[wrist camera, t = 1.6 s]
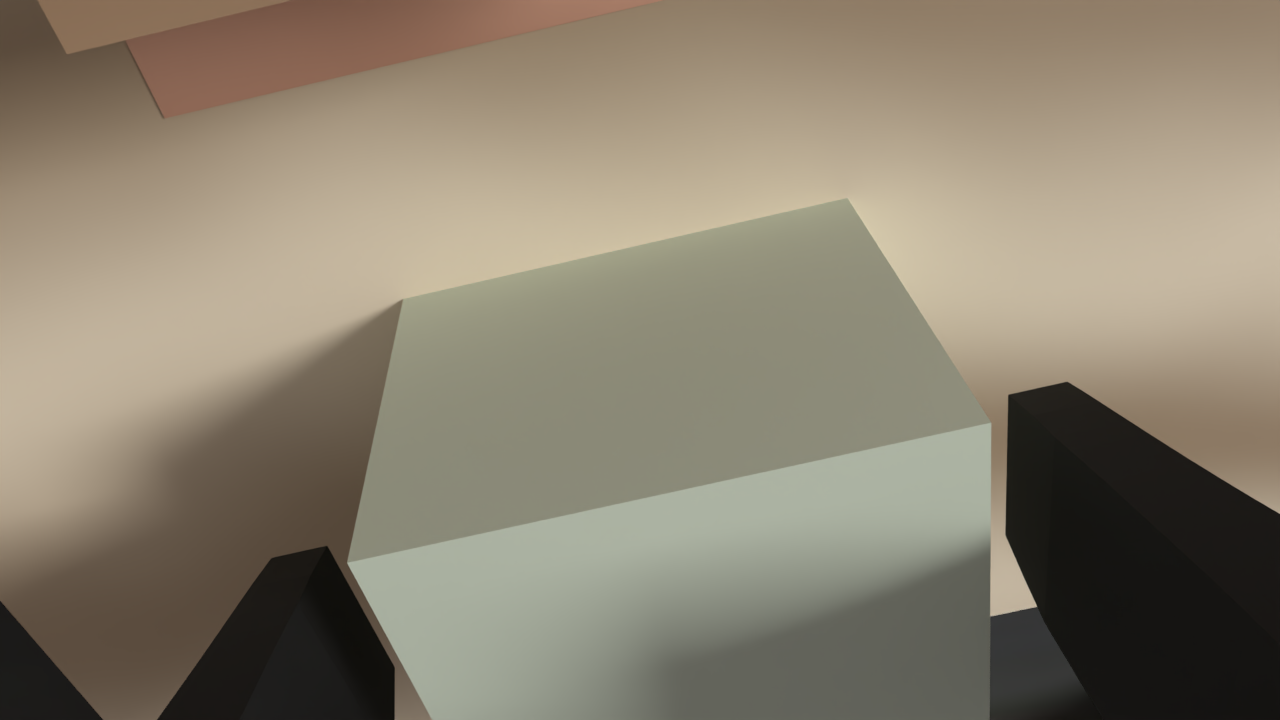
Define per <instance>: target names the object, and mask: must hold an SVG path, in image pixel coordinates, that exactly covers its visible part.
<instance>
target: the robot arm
mask: <svg viewBox="0 0 1280 720" xmlns="http://www.w3.org/2000/svg"><path fill="white" fill-rule="evenodd" d="M1005 536H1006V538H1007V540H1008V542H1009V545H1010V547H1011V549H1012V552H1013V554H1014V556H1015V558H1016V561H1017V563H1018V565H1019V568H1020V570H1021V572H1022V574H1023V577H1024V579H1025V581H1026V583H1027V586H1028V588H1029V590H1030V592H1031V594H1032V596H1033V599H1034V601H1035V603H1036V605H1037V607H1038V609H1039V611H1040V614H1041V616H1042V618H1043V620H1044V622H1045V624H1046V625H1047V627H1048V629H1049V631H1050V632H1051V634H1052V636H1053V637H1054V639H1055V641H1056V642H1057V644H1058V646H1059V647H1060V649H1061V651H1062V652H1063V654H1064V656H1065V657H1066V659H1067V661H1068V662H1069V664H1070V666H1071V667H1072V669H1073V671H1074V672H1075V674H1076V676H1077V677H1078V679H1079V681H1080V682H1081V684H1082V686H1083V687H1084V689H1085V691H1086V692H1087V694H1088V696H1089V697H1090V699H1091V700H1092V702H1093V704H1094V705H1095V707H1096V709H1097V710H1098V712H1099V714H1100V715H1101V717H1102V718H1103V720H1280V514H1279V513H1278V512H1276V511H1274V510H1272V509H1271V508H1269V507H1267V506H1266V505H1264V504H1262V503H1261V502H1259V501H1257V500H1255V499H1254V498H1252V497H1250V496H1249V495H1247V494H1245V493H1244V492H1242V491H1240V490H1239V489H1237V488H1235V487H1234V486H1232V485H1230V484H1229V483H1227V482H1226V481H1224V480H1222V479H1221V478H1219V477H1217V476H1216V475H1214V474H1212V473H1211V472H1209V471H1208V470H1206V469H1204V468H1203V467H1201V466H1200V465H1198V464H1196V463H1195V462H1193V461H1191V460H1190V459H1188V458H1187V457H1185V456H1183V455H1182V454H1180V453H1179V452H1177V451H1176V450H1174V449H1172V448H1171V447H1169V446H1168V445H1166V444H1165V443H1163V442H1161V441H1160V440H1158V439H1157V438H1155V437H1154V436H1152V435H1150V434H1149V433H1147V432H1146V431H1144V430H1143V429H1141V428H1140V427H1138V426H1136V425H1135V424H1133V423H1132V422H1130V421H1129V420H1127V419H1126V418H1124V417H1122V416H1121V415H1119V414H1118V413H1116V412H1115V411H1113V410H1112V409H1110V408H1109V407H1107V406H1105V405H1104V404H1102V403H1101V402H1099V401H1098V400H1096V399H1095V398H1093V397H1091V396H1090V395H1088V394H1087V393H1085V392H1084V391H1082V390H1080V389H1079V388H1077V387H1076V386H1074V385H1072V384H1071V383H1069V382H1063V383H1059V384H1054V385H1050V386H1045V387H1041V388H1036V389H1032V390H1027V391H1023V392H1018V393H1014V394H1009V395H1008V428H1007V477H1006V526H1005ZM157 720H395V667H394V665H393V663H392V661H391V660H390V658H389V656H388V654H387V652H386V651H385V649H384V647H383V645H382V643H381V642H380V640H379V638H378V636H377V634H376V633H375V631H374V629H373V627H372V625H371V624H370V622H369V620H368V618H367V616H366V615H365V613H364V611H363V609H362V607H361V606H360V604H359V602H358V600H357V598H356V597H355V595H354V593H353V591H352V589H351V588H350V586H349V584H348V582H347V580H346V578H345V577H344V575H343V573H342V571H341V569H340V568H339V566H338V564H337V562H336V560H335V559H334V557H333V555H332V553H331V551H330V550H329V548H328V546H323V547H318V548H314V549H309V550H305V551H300V552H296V553H291V554H287V555H282V556H278V557H273V558H271V559H270V561H269V562H268V563H267V565H266V566H265V567H264V569H263V570H262V571H261V573H260V574H259V575H258V577H257V578H256V580H255V581H254V582H253V584H252V585H251V587H250V588H249V589H248V591H247V592H246V594H245V595H244V597H243V598H242V599H241V601H240V602H239V604H238V605H237V607H236V608H235V609H234V611H233V612H232V614H231V615H230V617H229V618H228V620H227V621H226V622H225V624H224V625H223V627H222V628H221V630H220V631H219V633H218V634H217V635H216V637H215V638H214V640H213V641H212V643H211V644H210V646H209V647H208V648H207V650H206V651H205V653H204V654H203V656H202V657H201V659H200V660H199V661H198V663H197V664H196V666H195V667H194V668H193V670H192V671H191V673H190V674H189V675H188V677H187V678H186V680H185V681H184V682H183V684H182V685H181V687H180V688H179V689H178V691H177V692H176V694H175V695H174V696H173V698H172V699H171V701H170V702H169V703H168V705H167V706H166V708H165V709H164V710H163V712H162V713H161V715H160V716H159V717H158V719H157Z"/></svg>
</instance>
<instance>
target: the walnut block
mask: <svg viewBox="0 0 1280 720" xmlns="http://www.w3.org/2000/svg"><path fill="white" fill-rule="evenodd" d="M287 1H291V0H38V2H39V4H40V6H41V8H42V10H43V11H44V13H45V15H46V17H47V19H48V21H49V22H50V24H51V26H52V28H53V30H54V32H55V33H56V35H57V37H58V39H59V41H60V43H61V44H62V46H63V48H64V50H65V52H66V54H71V53H75V52H79V51H83V50H87V49H91V48H96V47H100V46H104V45H108V44H112V43H116V42H120V41H125V40H129V39H133V38H137V37H141V36H145V35H150V34H154V33H158V32H162V31H166V30H170V29H175V28H179V27H183V26H187V25H191V24H195V23H199V22H204V21H208V20H212V19H216V18H220V17H224V16H229V15H233V14H237V13H241V12H245V11H249V10H254V9H258V8H262V7H266V6H270V5H274V4H279V3H283V2H287Z"/></svg>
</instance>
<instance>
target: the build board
mask: <svg viewBox="0 0 1280 720" xmlns="http://www.w3.org/2000/svg"><path fill="white" fill-rule="evenodd" d="M845 198H848V200H849V201H850V203H851V204H852V206H853V208H854V209H855V211H856V212H857V214H858V215H859V217H860V218H861V220H862V222H863V223H864V225H865V226H866V228H867V229H868V231H869V233H870V234H871V236H872V237H873V239H874V240H875V242H876V243H877V245H878V247H879V248H880V250H881V251H882V253H883V254H884V256H885V257H886V259H887V261H888V262H889V264H890V265H891V267H892V268H893V270H894V272H895V273H896V275H897V276H898V278H899V279H900V281H901V282H902V284H903V286H904V287H905V289H906V290H907V292H908V293H909V295H910V297H911V298H912V300H913V301H914V303H915V304H916V306H917V307H918V309H919V311H920V312H921V314H922V315H923V317H924V318H925V320H926V321H927V323H928V325H929V326H930V328H931V329H932V331H933V332H934V334H935V336H936V337H937V339H938V340H939V342H940V343H941V345H942V346H943V348H944V350H945V351H946V353H947V354H948V356H949V357H950V359H951V361H952V362H953V364H954V365H955V367H956V368H957V370H958V371H959V373H960V375H961V376H962V378H963V379H964V381H965V382H966V384H967V386H968V387H969V389H970V390H971V392H972V393H973V395H974V396H975V398H976V400H977V401H978V403H979V404H980V406H981V407H982V409H983V410H984V412H985V414H986V415H987V417H988V418H989V420H990V421H991V567H990V616H995V615H1000V614H1005V613H1009V612H1014V611H1019V610H1024V609H1028V608H1033V607H1037V605H1036V603H1035V601H1034V599H1033V596H1032V594H1031V592H1030V590H1029V588H1028V586H1027V583H1026V581H1025V579H1024V577H1023V574H1022V572H1021V570H1020V568H1019V565H1018V563H1017V561H1016V558H1015V556H1014V554H1013V552H1012V549H1011V547H1010V545H1009V542H1008V540H1007V538H1006V536H1005V526H1006V477H1007V428H1008V395H1009V394H1014V393H1018V392H1023V391H1027V390H1032V389H1036V388H1041V387H1045V386H1050V385H1054V384H1059V383H1063V382H1069V383H1071V384H1072V385H1074V386H1076V387H1077V388H1079V389H1080V390H1082V391H1084V392H1085V393H1087V394H1088V395H1090V396H1091V397H1093V398H1095V399H1096V400H1098V401H1099V402H1101V403H1102V404H1104V405H1105V406H1107V407H1109V408H1110V409H1112V410H1113V411H1115V412H1116V413H1118V414H1119V415H1121V416H1122V417H1124V418H1126V419H1127V420H1129V421H1130V422H1132V423H1133V424H1135V425H1136V426H1138V427H1140V428H1141V429H1143V430H1144V431H1146V432H1147V433H1149V434H1150V435H1152V436H1154V437H1155V438H1157V439H1158V440H1160V441H1161V442H1163V443H1165V444H1166V445H1168V446H1169V447H1171V448H1172V449H1174V450H1176V451H1177V452H1179V453H1180V454H1182V455H1183V456H1185V457H1187V458H1188V459H1190V460H1191V461H1193V462H1195V463H1196V464H1198V465H1200V466H1201V467H1203V468H1204V469H1206V470H1208V471H1209V472H1211V473H1212V474H1214V475H1216V476H1217V477H1219V478H1221V479H1222V480H1224V481H1226V482H1227V483H1229V484H1230V485H1232V486H1234V487H1235V488H1237V489H1239V490H1240V491H1242V492H1244V493H1245V494H1247V495H1249V496H1250V497H1252V498H1254V499H1255V500H1257V501H1259V502H1261V503H1262V504H1264V505H1266V506H1267V507H1269V508H1271V509H1272V510H1274V511H1276V512H1278V513H1279V514H1280V0H291V1H287V2H283V3H279V4H274V5H270V6H266V7H262V8H258V9H254V10H249V11H245V12H241V13H237V14H233V15H229V16H224V17H220V18H216V19H212V20H208V21H204V22H199V23H195V24H191V25H187V26H183V27H179V28H175V29H170V30H166V31H162V32H158V33H154V34H150V35H145V36H141V37H137V38H133V39H129V40H125V41H120V42H116V43H112V44H108V45H104V46H100V47H96V48H91V49H87V50H83V51H79V52H75V53H71V54H66V52H65V50H64V48H63V46H62V44H61V43H60V41H59V39H58V37H57V35H56V33H55V32H54V30H53V28H52V26H51V24H50V22H49V21H48V19H47V17H46V15H45V13H44V11H43V10H42V8H41V6H40V4H39V2H38V0H0V601H1V602H2V603H3V605H4V606H5V607H6V608H7V609H8V610H9V611H10V613H11V614H12V615H13V616H14V617H15V618H16V620H17V621H18V622H19V623H20V624H21V625H22V626H23V628H24V629H25V630H26V631H27V632H28V633H29V635H30V636H31V637H32V638H33V639H34V640H35V641H36V643H37V644H38V645H39V646H40V647H41V648H42V650H43V651H44V652H45V653H46V654H47V655H48V656H49V658H50V659H51V660H52V661H53V662H54V663H55V665H56V666H57V667H58V668H59V669H60V670H61V672H62V673H63V674H64V675H65V676H66V677H67V678H68V680H69V681H70V682H71V683H72V684H73V685H74V687H75V688H76V689H77V690H78V691H79V692H80V693H81V695H82V696H83V697H84V698H85V699H86V700H87V702H88V703H89V704H90V705H91V706H92V707H93V708H94V710H95V711H96V712H97V713H98V714H99V715H100V717H101V718H102V719H103V720H157V719H158V717H159V716H160V715H161V713H162V712H163V710H164V709H165V708H166V706H167V705H168V703H169V702H170V701H171V699H172V698H173V696H174V695H175V694H176V692H177V691H178V689H179V688H180V687H181V685H182V684H183V682H184V681H185V680H186V678H187V677H188V675H189V674H190V673H191V671H192V670H193V668H194V667H195V666H196V664H197V663H198V661H199V660H200V659H201V657H202V656H203V654H204V653H205V651H206V650H207V648H208V647H209V646H210V644H211V643H212V641H213V640H214V638H215V637H216V635H217V634H218V633H219V631H220V630H221V628H222V627H223V625H224V624H225V622H226V621H227V620H228V618H229V617H230V615H231V614H232V612H233V611H234V609H235V608H236V607H237V605H238V604H239V602H240V601H241V599H242V598H243V597H244V595H245V594H246V592H247V591H248V589H249V588H250V587H251V585H252V584H253V582H254V581H255V580H256V578H257V577H258V575H259V574H260V573H261V571H262V570H263V569H264V567H265V566H266V565H267V563H268V562H269V561H270V559H271V558H273V557H278V556H282V555H287V554H291V553H296V552H300V551H305V550H309V549H314V548H318V547H323V546H328V548H329V550H330V551H331V553H332V555H333V557H334V559H335V560H336V562H337V564H338V566H339V568H340V569H341V571H342V573H343V575H344V577H345V578H346V580H347V582H348V584H349V586H350V588H351V589H352V591H353V593H354V595H355V597H356V598H357V600H358V602H359V604H360V606H361V607H362V609H363V611H364V613H365V615H366V616H367V618H368V620H369V622H370V624H371V625H372V627H373V629H374V631H375V633H376V634H377V636H378V638H379V640H380V642H381V643H382V645H383V647H384V649H385V651H386V652H387V654H388V656H389V658H390V660H391V661H392V663H393V665H394V667H395V720H432V719H431V717H430V715H429V713H428V711H427V709H426V708H425V706H424V704H423V702H422V700H421V698H420V696H419V695H418V693H417V691H416V689H415V687H414V685H413V684H412V682H411V680H410V678H409V676H408V674H407V673H406V671H405V669H404V667H403V665H402V663H401V661H400V660H399V658H398V656H397V654H396V652H395V650H394V649H393V647H392V645H391V643H390V641H389V639H388V637H387V636H386V634H385V632H384V630H383V628H382V626H381V625H380V623H379V621H378V619H377V617H376V615H375V614H374V612H373V610H372V608H371V606H370V604H369V602H368V601H367V599H366V597H365V595H364V593H363V591H362V590H361V588H360V586H359V584H358V582H357V580H356V579H355V577H354V575H353V573H352V571H351V569H350V567H349V566H348V564H347V561H348V556H349V551H350V547H351V542H352V537H353V532H354V528H355V523H356V518H357V514H358V509H359V504H360V500H361V495H362V490H363V486H364V481H365V476H366V471H367V467H368V462H369V457H370V453H371V448H372V443H373V439H374V434H375V429H376V425H377V420H378V415H379V410H380V406H381V401H382V396H383V392H384V387H385V382H386V378H387V373H388V368H389V363H390V359H391V354H392V349H393V345H394V340H395V335H396V331H397V326H398V321H399V317H400V312H401V307H402V302H403V299H405V298H410V297H414V296H419V295H423V294H427V293H432V292H436V291H441V290H445V289H449V288H454V287H458V286H462V285H467V284H471V283H476V282H480V281H484V280H489V279H493V278H498V277H502V276H506V275H511V274H515V273H520V272H524V271H528V270H533V269H537V268H542V267H546V266H550V265H555V264H559V263H564V262H568V261H572V260H577V259H581V258H586V257H590V256H594V255H599V254H603V253H607V252H612V251H616V250H621V249H625V248H629V247H634V246H638V245H643V244H647V243H651V242H656V241H660V240H665V239H669V238H673V237H678V236H682V235H687V234H691V233H695V232H700V231H704V230H709V229H713V228H717V227H722V226H726V225H731V224H735V223H739V222H744V221H748V220H752V219H757V218H761V217H766V216H770V215H774V214H779V213H783V212H788V211H792V210H796V209H801V208H805V207H810V206H814V205H818V204H823V203H827V202H832V201H836V200H840V199H845Z"/></svg>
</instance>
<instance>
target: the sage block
mask: <svg viewBox="0 0 1280 720" xmlns="http://www.w3.org/2000/svg"><path fill="white" fill-rule="evenodd" d="M347 564H348V566H349V567H350V569H351V571H352V573H353V575H354V577H355V579H356V580H357V582H358V584H359V586H360V588H361V590H362V591H363V593H364V595H365V597H366V599H367V601H368V602H369V604H370V606H371V608H372V610H373V612H374V614H375V615H376V617H377V619H378V621H379V623H380V625H381V626H382V628H383V630H384V632H385V634H386V636H387V637H388V639H389V641H390V643H391V645H392V647H393V649H394V650H395V652H396V654H397V656H398V658H399V660H400V661H401V663H402V665H403V667H404V669H405V671H406V673H407V674H408V676H409V678H410V680H411V682H412V684H413V685H414V687H415V689H416V691H417V693H418V695H419V696H420V698H421V700H422V702H423V704H424V706H425V708H426V709H427V711H428V713H429V715H430V717H431V719H432V720H990V567H991V421H990V420H989V418H988V417H987V415H986V414H985V412H984V410H983V409H982V407H981V406H980V404H979V403H978V401H977V400H976V398H975V396H974V395H973V393H972V392H971V390H970V389H969V387H968V386H967V384H966V382H965V381H964V379H963V378H962V376H961V375H960V373H959V371H958V370H957V368H956V367H955V365H954V364H953V362H952V361H951V359H950V357H949V356H948V354H947V353H946V351H945V350H944V348H943V346H942V345H941V343H940V342H939V340H938V339H937V337H936V336H935V334H934V332H933V331H932V329H931V328H930V326H929V325H928V323H927V321H926V320H925V318H924V317H923V315H922V314H921V312H920V311H919V309H918V307H917V306H916V304H915V303H914V301H913V300H912V298H911V297H910V295H909V293H908V292H907V290H906V289H905V287H904V286H903V284H902V282H901V281H900V279H899V278H898V276H897V275H896V273H895V272H894V270H893V268H892V267H891V265H890V264H889V262H888V261H887V259H886V257H885V256H884V254H883V253H882V251H881V250H880V248H879V247H878V245H877V243H876V242H875V240H874V239H873V237H872V236H871V234H870V233H869V231H868V229H867V228H866V226H865V225H864V223H863V222H862V220H861V218H860V217H859V215H858V214H857V212H856V211H855V209H854V208H853V206H852V204H851V203H850V201H849V200H848V198H845V199H840V200H836V201H832V202H827V203H823V204H818V205H814V206H810V207H805V208H801V209H796V210H792V211H788V212H783V213H779V214H774V215H770V216H766V217H761V218H757V219H752V220H748V221H744V222H739V223H735V224H731V225H726V226H722V227H717V228H713V229H709V230H704V231H700V232H695V233H691V234H687V235H682V236H678V237H673V238H669V239H665V240H660V241H656V242H651V243H647V244H643V245H638V246H634V247H629V248H625V249H621V250H616V251H612V252H607V253H603V254H599V255H594V256H590V257H586V258H581V259H577V260H572V261H568V262H564V263H559V264H555V265H550V266H546V267H542V268H537V269H533V270H528V271H524V272H520V273H515V274H511V275H506V276H502V277H498V278H493V279H489V280H484V281H480V282H476V283H471V284H467V285H462V286H458V287H454V288H449V289H445V290H441V291H436V292H432V293H427V294H423V295H419V296H414V297H410V298H405V299H403V302H402V307H401V312H400V317H399V321H398V326H397V331H396V335H395V340H394V345H393V349H392V354H391V359H390V363H389V368H388V373H387V378H386V382H385V387H384V392H383V396H382V401H381V406H380V410H379V415H378V420H377V425H376V429H375V434H374V439H373V443H372V448H371V453H370V457H369V462H368V467H367V471H366V476H365V481H364V486H363V490H362V495H361V500H360V504H359V509H358V514H357V518H356V523H355V528H354V532H353V537H352V542H351V547H350V551H349V556H348V561H347Z"/></svg>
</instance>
